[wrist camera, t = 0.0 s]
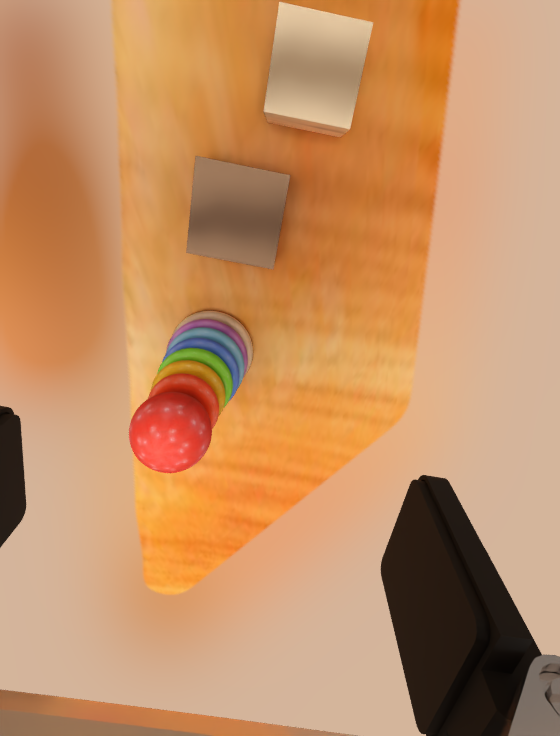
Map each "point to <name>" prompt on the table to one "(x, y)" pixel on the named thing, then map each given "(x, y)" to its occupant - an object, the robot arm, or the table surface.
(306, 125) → the maple block
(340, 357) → the table surface
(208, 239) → the walnut base
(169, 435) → the stacking toy
